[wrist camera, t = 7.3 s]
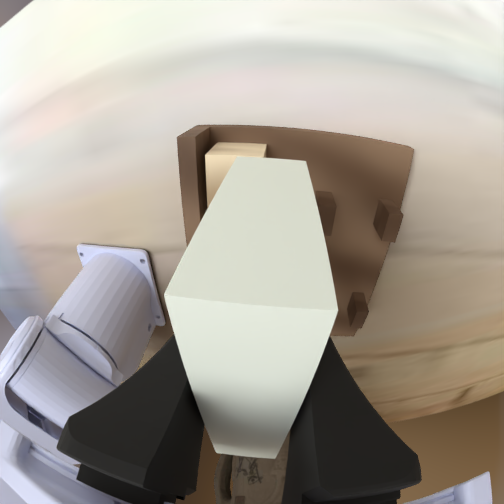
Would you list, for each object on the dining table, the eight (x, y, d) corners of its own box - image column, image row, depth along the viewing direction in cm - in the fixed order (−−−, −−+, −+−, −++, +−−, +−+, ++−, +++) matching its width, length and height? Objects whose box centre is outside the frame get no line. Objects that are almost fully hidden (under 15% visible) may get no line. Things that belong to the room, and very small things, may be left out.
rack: (352, 330, 26) (358, 361, 23) (211, 319, 27) (203, 350, 24) (409, 146, 15) (434, 163, 12) (197, 125, 16) (176, 137, 13)
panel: (282, 333, 16) (275, 458, 10) (238, 330, 16) (216, 452, 10) (305, 160, 10) (338, 310, 4) (237, 156, 10) (164, 294, 4)
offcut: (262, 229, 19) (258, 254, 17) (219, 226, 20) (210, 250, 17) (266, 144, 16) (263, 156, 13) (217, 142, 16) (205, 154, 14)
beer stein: (282, 348, 28) (267, 537, 12) (343, 378, 31) (348, 528, 15) (208, 389, 36) (181, 517, 20) (266, 412, 39) (253, 526, 23)
